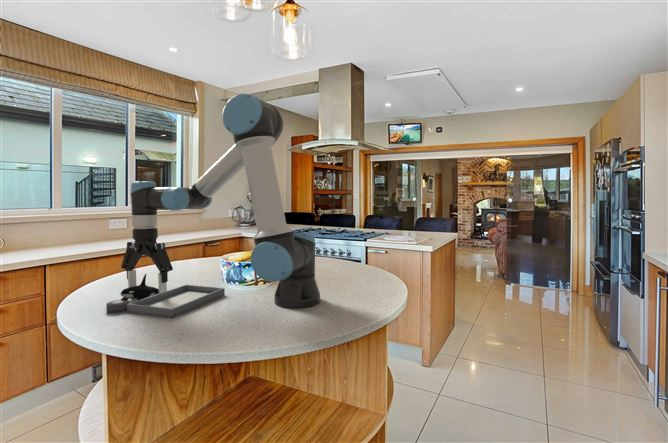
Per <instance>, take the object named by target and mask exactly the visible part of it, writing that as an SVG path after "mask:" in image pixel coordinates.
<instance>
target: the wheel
mask: <svg viewBox="0 0 668 443" xmlns="http://www.w3.org/2000/svg"><path fill="white" fill-rule="evenodd" d="M129 303H130V300H129V299H128V300H121V299H118V300H111V301H108V302H107V303H106V307H105V308H106V313H107V314H121V313H125V312H127V304H129Z"/></svg>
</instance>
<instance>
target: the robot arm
mask: <svg viewBox="0 0 668 443" xmlns="http://www.w3.org/2000/svg"><path fill="white" fill-rule="evenodd" d="M221 117H222V123H223V125H224V127H225V129H226V130H227V131H228V132H229V133H230V134H232V136H233V142H234V145H232V147H230V148H229V149H228V150H227V151H226V152H225V153H224V154H223V155H222V156H221V157H220V158H219V159H218V160H217V161H216V162H214V164H213V165H212V166H211V167H210V168H209V169H208V170H206V172H204V174H203V175H201V176H200V177H199V178H198V179H197V180H196V181H195V182H194V183H193V184H192V185H191V186H190V187H181V186H180V187H179V186H163V187H157V184H156V182H155V181H146V180H145V181H143V180H142V181H139V180H136V181H132V183H131V184H130V201H131V202H130V203H131V204H130V205H131V226H132V239H133V240H132V241H127V242H126V249H125V253H124V257H123V259H122V262H121V266H120V268H121V269H123V270H125V271H126V280H127V284H128V285H127V286H128V287H127V288H129V287H134V286H138V285H137V270H136V266H137V264H138V262H139V261H140V259H141V257H142V256H148V257H149V258H151V260H152V261H153V263H154V265H155V266H156V268H157V270H158V271H159V273H157V275H158V284H157V285H158V289H159V293H163V292H166V291H168V290H167V288H168V287H167V284H168V281H169V277H168V273H169V272H170V271H171V272H172V271H173V270H174V267H173V265H172V263H171V260H170V258H169V255H168V252H167V249H166V243H165V242H157V239H158V237H159V234H158V232H159V231H158V230H159V229H158V227H157V226H158V211H172V212H174V211H176V212H177V211H178V212H179V211H182V210H202V209H206V208H209V206H210V205H211V204H212V201H213V197H214V196H215V195H217V194H216V193H218V192H219V191H220V190H221V189H222V188H223V187H225V185H227V184H228V183H229V182H230V181H231V180H232V179H233V178H234V177H235V176H236V175H238V174H239V173H240V172H241V171H242V170H243V169H245V174H246V180H247V184H248V188H249V189H248V190H249V195H250V198H251V199H250V200H251V204H252V209H253V214H254V219H255V225H256V230H257V231H256V234H255V235H254V237H253V243H254V246H255V247H254V248H253V250H252V252H251V253H250V266H251V268H252V269H253V272H254V273H255V275H256V276H257V277H259V278H261V279H262V280H263V281H266V282H269V283H272V282H275V283H276V282H278V284H277V286H276V289H275V293H274V304H275V305H277V306H279V307H282V308H290V309H300V308H301V309H302V308H310V307H313V306H314V307H315V306H316V305H318V304H320V302H321V294H320V290H319V287H318V283H317V280H316V245H317V244H316V237H315V235H314V234H312V233H308V232H294V230H293V229H292V228H290V227H289V226H288V225H287V221H286V215H285V212H284V205H283V200H282V195H281V190H280V186H279V181H278V180H279V179H278V175H277V169H276V165H275V159H274V156H273V149H272V146H273V145H275V143H276V142H277V141H278V140H279V138H280V137H281V135H282V133H283V130H284V119H283V116H282V113H281V112H280V111H279V110H278V109H277V107H275V106H274V105H272V104H269V103H267V102H265V101H264V100H261V99H260V98H258V97H257V96H255V95H252V94H251V95H250V94H248V93H238V94H236V95H233V96H231V98H229V99H228V101H227V102H226V104H225V105H224V108H223V110H222V116H221Z"/></svg>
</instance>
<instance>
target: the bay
mask: <svg viewBox="0 0 668 443" xmlns="http://www.w3.org/2000/svg"><path fill="white" fill-rule="evenodd" d="M225 292H226V291H225V288H224V287H214V286H204V285H196V284H195V285H193V284H184V285H183V284H182V285H181V286H178V287H174V288H171V289H169V290H167V291H166V292H163V293H159V294H156V295H153V296H150V297H147V298H144V299H141V300H134V301H132V302H129V304H127V311H126V312H127V313H130V314H137V315H143V316H150V317H151V316H152V317H160V318H166V319H167V318H168V319H174V318H175V317H176V318H177V317H178V316H180V315H184V314H186V313H188V312H190V311H192V310H194V309H197V308H199V307H201V306H204V305H205V304H208V303H210V302H214V301H215V300H217V299H220V298H221V297H224V296H225V294H226V293H225Z"/></svg>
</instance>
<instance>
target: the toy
mask: <svg viewBox="0 0 668 443" xmlns="http://www.w3.org/2000/svg"><path fill="white" fill-rule="evenodd" d="M146 279H147V273H145V274H144V276H143V278H142V280H141V282H140V284H139V285H137V286H134V287H129V288H128V287H127V288H123V289H122V290H121V292H120V296H121V299H120V300H128V301H129V300H136V301H138V300H141V299H144V298H147V297H150V296H153V295H156V294H159V288H156V287H154V286H149V285H147V284H146Z"/></svg>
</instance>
